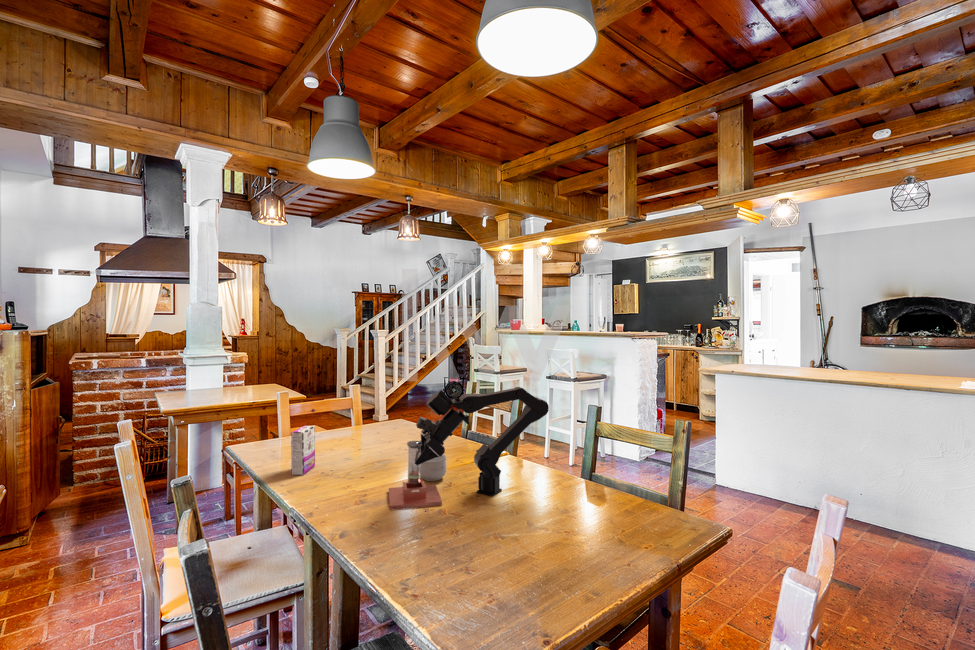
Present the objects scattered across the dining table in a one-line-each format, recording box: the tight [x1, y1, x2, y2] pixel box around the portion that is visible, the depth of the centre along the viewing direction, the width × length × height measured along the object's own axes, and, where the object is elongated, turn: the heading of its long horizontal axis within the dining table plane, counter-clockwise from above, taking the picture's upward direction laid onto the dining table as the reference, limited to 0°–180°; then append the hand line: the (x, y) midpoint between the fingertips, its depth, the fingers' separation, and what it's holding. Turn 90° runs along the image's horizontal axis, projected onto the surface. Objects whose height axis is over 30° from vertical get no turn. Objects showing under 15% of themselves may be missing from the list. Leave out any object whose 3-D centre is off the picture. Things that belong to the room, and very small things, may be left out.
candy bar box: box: [290, 425, 316, 476], centre depth 176 cm, size 11×5×16 cm, turn 179°
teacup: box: [421, 453, 447, 482], centre depth 169 cm, size 14×11×8 cm
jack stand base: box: [388, 480, 443, 511], centre depth 148 cm, size 16×16×4 cm
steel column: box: [406, 440, 422, 484], centre depth 149 cm, size 5×5×13 cm
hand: (414, 460), depth 149 cm, fingers open, 9 cm apart
